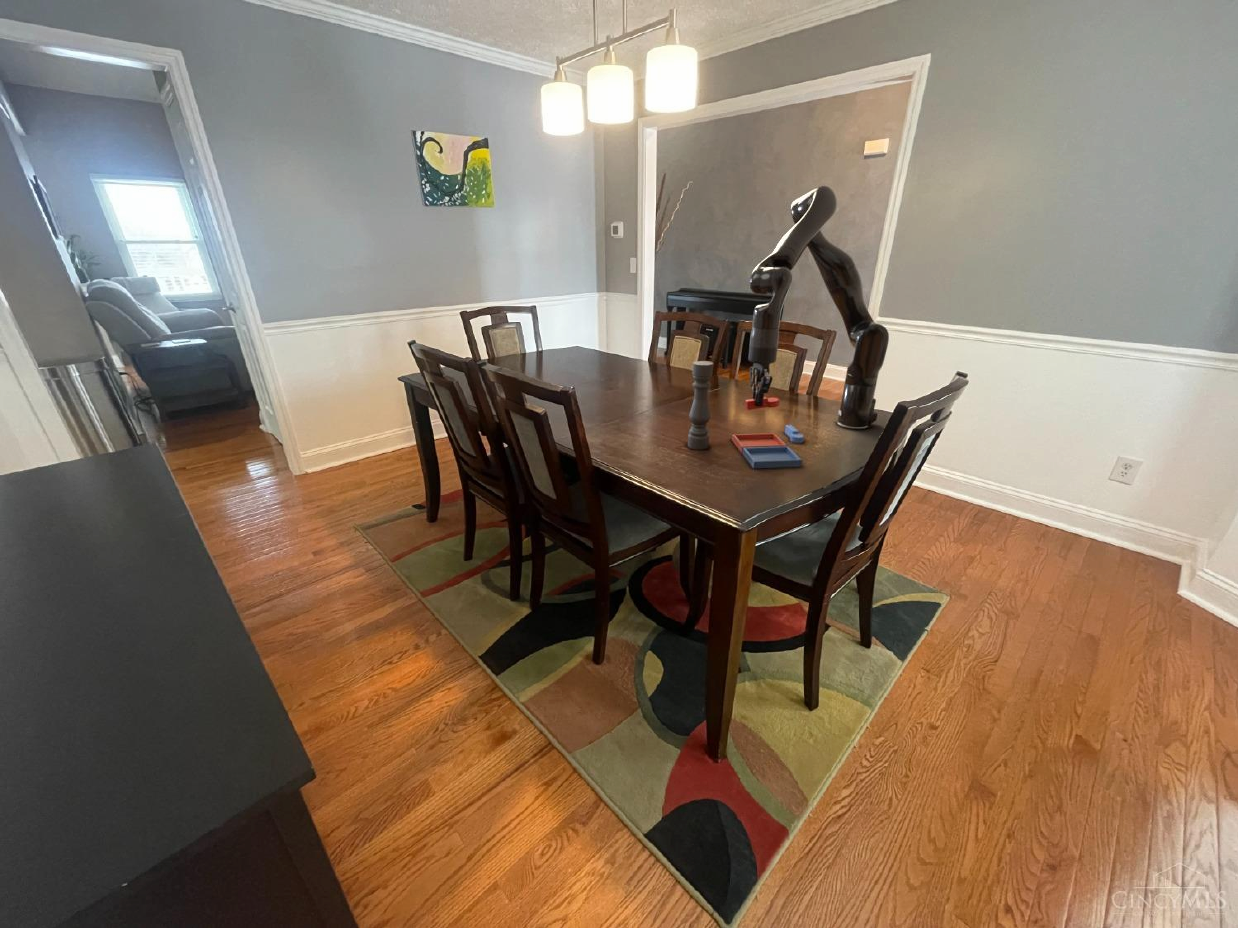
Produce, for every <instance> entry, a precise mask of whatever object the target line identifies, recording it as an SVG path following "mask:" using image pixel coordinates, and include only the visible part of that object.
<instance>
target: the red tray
mask: <svg viewBox="0 0 1238 928" xmlns="http://www.w3.org/2000/svg"><path fill="white" fill-rule="evenodd" d="M731 441H732V443H733V444H734V445H735V447H736V448H737V449H738V450H739V452H740V453H741V454H742V453H743V448H749V447H781V446H788V445H787V444H786V442H784V441H783V440H782V438H780V437H779V436H778V435H777V434H776V433H775V432H771V433H770V432H767V433H765V432H764V433H737V434H734V433H733V434H732V437H731Z"/></svg>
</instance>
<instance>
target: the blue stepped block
mask: <svg viewBox="0 0 1238 928" xmlns="http://www.w3.org/2000/svg"><path fill="white" fill-rule="evenodd" d="M799 432H800V431H799V430H798V429H797V428H795V427H794V426H793V425H792V424H786V425H785V428H784V434H785V435H787V436H788V438H790V439H789V441H790V442H791V443H795V444H801V443H803V442H804V439H805V436H804V435H803V434H802V433H799Z"/></svg>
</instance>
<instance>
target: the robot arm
mask: <svg viewBox="0 0 1238 928" xmlns="http://www.w3.org/2000/svg"><path fill="white" fill-rule="evenodd" d="M837 201H838V199H837V196H836V193H835V192H834V190H833V189H832V188H831V187H830V186H828V185H820V186H817V187H815V188H813V189H812V190H810V191H809V192H806V193H805V194H803V195H801V196H800V197H798V198H796V199H795V200H794V201H792V203H791V206H790V215H791V219H792V222H793V224H794V225H793V226H792V227H791V228H790V229H789V230H788V231H787V232H786V233H785V234H784V235H783V236H782V238H781V239H780V240H779V241H778V242H777V244H776V246H775V248H774V249H773V251H772V253H770V254H769V255H768V256H767V257H765V258H764V259H763V260H762V261H761V262H760V263H758V264H757V266H755V268H753V270H752V272H751V274H750V277H749V283H748V284H749V285H748V286H749V289H750V290H751V292H752V293H754V294H755V295H763V296H772V297H771V300H770V301H769V302H767V303H762V304H761V303H760V304H757V305H756V306H755V307H754V308H753V316H752V325H751V332H750V337H749V347H748V357H747V359H748V361H749V362H750V363H753V364H752V366H750V367H749V368H748V371H749V385H750V388H751V391H752V397H751V399H755V406H756V407H758V406H762V405H763V398H764V397H765V394H768V392H769V390H770V387H771V385H772V383H773V380H774V379H773V378H774V377H773V375H772V376H771V369H770V365H771V364H775V363H776V362H777V355H778V348H779V340H780V339H779V338H780V322H781V315H782V310H783V308H784V304H785V301H786V299H787V295H788V293H789V291H790V288H791V286H792V283H793V274H792V271H793V270H794V269H795V266H797V263H798V262H799V260H800V258H801V256H802V255H803V254H804V252H805V250H806V249H808V250H809V252H810V254H811V256H812V258H813V260H814V262H815V264H816V267H817V268H818V271H819V274H820V276H821V278H822V281H823V282H824V285H825V287H826V289H827V291H828V293H829V295H830V297H831V299H832V301H833V303H834V305H835V307H836V309H837V310H838V312H839V314H840V316H841V318H842V321H843V324H844V328H845V330H846V335H847V337H848V340H849V343H850V345H851V346H852V347H853V348H854V355H853V359H852V360H851V362H850V363H848V365H847V367H846V373H845V379H844V385H843V390H842V395H841V401H840V406H839V409H838V412H837V413H838V417H837V422H836V424H837V425H838V426H840V427H842V428H845V429H848V430H866V429H870V428H871V426H872V424H873V423H875V422H876V421H877V419H878V415H879V413H878V412H875V407H876V402H877V400H876V398H875V393H876V387H877V384H878V383H877V382H878V378H879V373H880V371H881V369H882V367H883V366H884V362H885V358H886V354H887V352H888V351H887V350H888V346H889V343H890V342H889V341H890V334H889V330H888V329H887V327H885V326H884V325H883V324H880V323H877V322H875V320H874V319H873V317H872V315H871V314H870V312H869V310H868V308H867V306H866V303H865V299H864V290H863V282H862V278H861V274H860V273H859V269H858V268H857V265H856V263H855V261H854V259H853V257H852V256H851V255H850V254H848V252H846V251H845V250H843V249H842V248H840V247H838V246H837V245H835V244H834V243H832V242H830V241H829V239H828V238H827V237H826V236H825V235H824V233H823V231H822V228H823V227H824V225H825V224H827V223H828V222H829V220H831V218H833V216H834V214H835V213H836V211H837V206H838V202H837Z"/></svg>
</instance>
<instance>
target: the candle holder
mask: <svg viewBox="0 0 1238 928" xmlns="http://www.w3.org/2000/svg"><path fill="white" fill-rule="evenodd" d="M713 366H714V363H713V362H712V361H708V360H697V361H693V362H692V372H691V373H692V378H693V380H694V381H693V382H692V387H693V389H694V392H693V393H694V395H693V401H692V404H691V408H690V411H689V415H688V417H689V421H690V422H691V427H690V428H689V431H688V432H689V433H688V435H687V447H688V448H689V449H692V450H699V451H701V450H706V449H708V448H709V443H710V442H709V441H710V440H709V439H710V435H709V429H708V427H707V426H708V423H709V421H710V419H711V412H710V407H709V401H708V400H709V399H708V395H709V389H710V388H711V386H712V384H711V383H710V380H711V378H712V375H713V369H714V367H713Z"/></svg>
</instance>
